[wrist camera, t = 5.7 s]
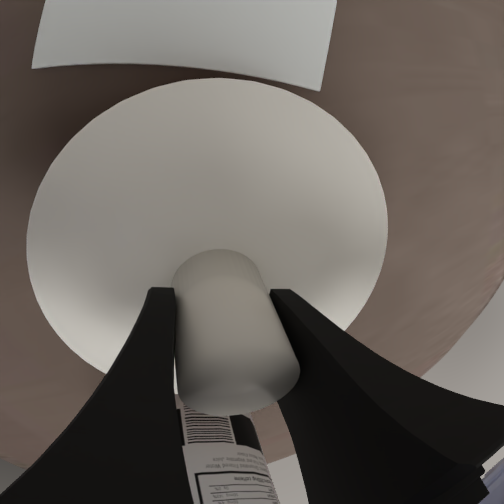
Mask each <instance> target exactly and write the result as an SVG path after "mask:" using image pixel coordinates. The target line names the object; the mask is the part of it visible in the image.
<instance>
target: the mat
mask: <svg viewBox="0 0 504 504" xmlns="http://www.w3.org/2000/svg"><path fill="white" fill-rule="evenodd" d="M336 3H337V0H46V2H45V5H44V9H43V13H42V17H41V21H40V25H39V29H38V34H37V39H36V44H35V49H34V55H33V61H32V68H31V69H39V68H48V67H59V66H72V65H92V64H140V65H161V66H175V67H186V68H196V69H204V70H212V71H220V72H226V73H233V74H239V75H245V76H251V77H256V78H261V79H266V80H271V81H276V82H280V83H285V84H289V85H293V86H297V87H301V88H305V89H309V90H313V91H320V89H321V84H322V79H323V74H324V68H325V63H326V58H327V53H328V48H329V42H330V37H331V31H332V26H333V20H334V15H335V9H336Z"/></svg>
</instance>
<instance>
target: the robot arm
mask: <svg viewBox="0 0 504 504" xmlns="http://www.w3.org/2000/svg"><path fill="white" fill-rule="evenodd" d="M269 295H270V298H271V300H272V302H273V305H274V307H275V309H276V312H277V314H278V316H279V319H280V321H281V323H282V326H283V328H284V330H285V333H286V335H287V337H288V340H289V342H290V344H291V347H292V349H293V351H294V354H295V356H296V358H297V361H298V363H299V366H300V375H299V378H298V381H297V382H296V384H295V386H294V387H293V388H292V389H291V390H290V391H289V392H288V393H287V394H286V395H285V396H284V397H282V398H281V399H279V400H278V401H277V402H278V404H279V407H280V409H281V412H282V414H283V417H284V419H285V422H286V424H287V426H288V429H289V432H290V435H291V437H292V440H293V444H294V447H295V451H296V454H297V457H298V461H299V465H300V469H301V472H302V476H303V480H304V484H305V488H306V492H307V497H308V502H309V504H504V458H503V459H502V460H501V461H499V462H498V463H497V464H496V465H495V466H494V467H493V468H492V469H490V470H489V471H488V472H487V473H486V474H485V477H484V478H483V479H482V480H481V478H480V476H481V475H483V474H484V472H485V470H484V468H483V466H482V464H483V463H484V462H485V461H487V460H488V459H489V458H490V457H491V456H493V455H494V454H495V453H496V452H497V451H498V450H499V449H500V448H501V447H503V446H504V406H503V405H498V404H494V403H490V402H486V401H481V400H477V399H473V398H470V397H467V396H464V395H461V394H458V393H455V392H452V391H449V390H447V389H444V388H442V387H439V386H437V385H434V384H432V383H430V382H428V381H426V380H423V379H421V378H419V377H417V376H415V375H413V374H411V373H409V372H407V371H405V370H403V369H402V368H400V367H398V366H396V365H395V364H393V363H391V362H389V361H388V360H386V359H384V358H383V357H381V356H379V355H378V354H376V353H375V352H373V351H372V350H370V349H369V348H367V347H366V346H364V345H363V344H362V343H360V342H359V341H357V340H356V339H354V338H353V337H352V336H350V335H349V334H348V333H346V332H345V331H344V330H342V329H341V328H340V327H338V326H337V325H336V324H335V323H333V322H332V321H331V320H329V319H328V318H327V317H326V316H324V315H323V314H322V313H321V312H319V311H318V310H317V309H316V308H314V307H313V306H312V305H311V304H309V303H308V302H307V301H306V300H304V299H303V298H302V297H300V296H299V295H298V294H296V293H295V292H294V291H292V290H291V289H270V293H269ZM175 313H176V299H175V291H174V288H172V287H151V288H150V289H149V290H148V292H147V296H146V299H145V302H144V305H143V307H142V309H141V312H140V314H139V316H138V318H137V321H136V322H135V324H134V326H133V328H132V330H131V332H130V334H129V336H128V338H127V340H126V342H125V344H124V345H123V347H122V349H121V351H120V352H119V354H118V356H117V357H116V359H115V361H114V363H113V364H112V366H111V367H110V369H109V371H108V372H107V374H106V375H105V377H104V378H103V380H102V381H101V383H100V384H99V386H98V387H97V388H96V390H95V391H94V393H93V394H92V396H91V397H90V398H89V400H88V401H87V402H86V403H85V405H84V406H83V407H82V409H81V410H80V411H79V413H78V414H77V415H76V417H75V418H74V419H73V420H72V421H71V423H70V424H69V425H68V426H67V428H66V429H65V430H64V431H63V432H62V433H61V434H60V435H59V437H58V438H57V439H56V440H55V441H54V442H53V443H52V444H51V445H50V446H49V448H48V449H47V450H46V451H45V452H44V453H43V454H42V455H41V456H40V457H39V459H38V460H37V461H36V462H35V463H34V464H33V465H32V466H31V467H29V468H28V469H27V470H26V471H25V472H24V473H23V474H22V475H21V476H20V477H19V478H18V479H16V481H14V482H13V483H12V484H11V485H10V486H9V487H8V488H7V489H6V490H5V491H3V492H2V493H1V494H0V504H194V501H193V497H192V493H191V488H190V484H189V479H188V474H187V469H186V464H185V459H184V453H183V447H182V442H181V435H180V429H179V422H178V415H177V408H176V400H175V392H174V337H175Z"/></svg>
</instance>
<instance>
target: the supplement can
mask: <svg viewBox="0 0 504 504" xmlns="http://www.w3.org/2000/svg"><path fill="white" fill-rule="evenodd" d="M175 400H176V408H177V415H178V422H179V429H180V435H181V442H182V447H183V453H184V459H185V464H186V469H187V474H188V479H189V484H190V488H191V493H192V497H193V501H194V504H280V502H279V500H278V496H277V494H276V491H275V488H274V485H273V482H272V479H271V476H270V473H269V470H268V467H267V464H266V461H265V457H264V454H263V451H262V448H261V445H260V442H259V439H258V435H257V432H256V429H255V426H254V422H253V419H252V416H251V413H250V412H249V413H245V414H239V415H231V416H216V415H208V414H204V413H200V412H197V411H195V410H193V409H191V408H189V407H187V406H186V405H185V404H184V403H183V402H182V401H181V399H180V398H179V395H178V394H175Z"/></svg>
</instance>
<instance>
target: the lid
mask: <svg viewBox="0 0 504 504" xmlns="http://www.w3.org/2000/svg"><path fill="white" fill-rule="evenodd" d="M387 236H388V216H387V208H386V202H385V196H384V192H383V189H382V186H381V183H380V180H379V177H378V174H377V172H376V170H375V168H374V166H373V165H372V163H371V161H370V159H369V157H368V155H367V154H366V152H365V151H364V149H363V148H362V147H361V145H360V144H359V143H358V141H357V140H356V139H355V137H354V136H353V135H352V134H351V133H350V132H349V131H348V130H347V129H346V128H345V127H344V126H343V125H342V124H341V123H340V122H339V121H337V120H336V119H335V118H334V117H333V116H331V115H330V114H328V113H327V112H326V111H324V110H323V109H321V108H320V107H318V106H317V105H315V104H314V103H312V102H310V101H308V100H306V99H304V98H302V97H300V96H298V95H295V94H293V93H291V92H289V91H287V90H284V89H281V88H277V87H274V86H270V85H266V84H263V83H259V82H255V81H248V80H238V79H228V78H208V79H193V80H184V81H179V82H175V83H170V84H166V85H162V86H158V87H154V88H152V89H149V90H147V91H144V92H142V93H139V94H137V95H135V96H132V97H130V98H128V99H125V100H123V101H121V102H119V103H118V104H116V105H114V106H113V107H111V108H110V109H108V110H106V111H105V112H103V113H102V114H100V115H99V116H97V117H96V118H94V119H93V120H92V121H91V122H89V123H88V124H87V125H86V126H85V127H84V128H83V129H82V130H80V131H79V132H78V133H77V134H76V135H75V136H74V137H73V138H72V139H71V140H70V141H69V142H68V143H67V145H66V146H65V147H64V148H63V150H62V151H61V152H60V153H59V155H58V156H57V157H56V159H55V160H54V161H53V162H52V164H51V166H50V168H49V169H48V171H47V173H46V175H45V177H44V179H43V180H42V182H41V184H40V186H39V188H38V191H37V194H36V197H35V200H34V203H33V206H32V209H31V212H30V218H29V224H28V230H27V263H28V270H29V275H30V281H31V284H32V287H33V290H34V293H35V296H36V299H37V301H38V303H39V305H40V307H41V309H42V311H43V313H44V315H45V317H46V319H47V320H48V322H49V323H50V325H51V326H52V327H53V329H54V330H55V332H56V333H57V334H58V335H59V337H60V338H61V339H62V340H63V341H64V342H65V343H66V344H67V345H68V346H69V348H71V349H72V350H73V351H74V352H75V353H76V354H78V355H79V356H80V357H81V358H82V359H83V360H85V361H86V362H88V363H89V364H91V365H92V366H94V367H95V368H97V369H98V370H100V371H102V372H104V373H106V374H107V372H108V371H109V369H110V367H111V366H112V364H113V363H114V361H115V359H116V357H117V356H118V354H119V352H120V351H121V349H122V347H123V345H124V344H125V342H126V340H127V338H128V336H129V334H130V332H131V330H132V328H133V326H134V324H135V322H136V321H137V318H138V316H139V314H140V312H141V309H142V307H143V305H144V302H145V299H146V296H147V292H148V290H149V289H150V288H151V287H172V288H174V291H175V299H176V313H175V337H174V392H175V394H178V395H179V398H180V399H181V401H182V402H183V403H184V404H185V405H186V406H187V407H189V408H191V409H193V410H195V411H197V412H200V413H204V414H208V415H216V416H231V415H239V414H245V413H249V412H253V411H256V410H259V409H262V408H264V407H267V406H269V405H271V404H273V403H274V402H276V401H278V400H279V399H281V398H282V397H284V396H285V395H286V394H287V393H288V392H289V391H290V390H291V389H292V388H293V387H294V386H295V384H296V382H297V381H298V378H299V375H300V366H299V363H298V361H297V358H296V356H295V354H294V351H293V349H292V347H291V344H290V342H289V340H288V337H287V335H286V333H285V330H284V328H283V326H282V323H281V321H280V319H279V316H278V314H277V312H276V309H275V307H274V305H273V302H272V300H271V298H270V295H269V293H270V289H291V290H292V291H294V292H295V293H296V294H298V295H299V296H300V297H302V298H303V299H304V300H306V301H307V302H308V303H309V304H311V305H312V306H313V307H314V308H316V309H317V310H318V311H319V312H321V313H322V314H323V315H324V316H326V317H327V318H328V319H329V320H331V321H332V322H333V323H335V324H336V325H337V326H338V327H340V328H341V329H342V330H344V331H345V330H346V328H347V327H348V326H349V325H350V324H351V323H352V321H353V320H354V319H355V318H356V316H357V315H358V313H359V312H360V311H361V309H362V308H363V306H364V305H365V303H366V301H367V300H368V298H369V296H370V294H371V292H372V290H373V288H374V286H375V284H376V281H377V279H378V276H379V274H380V271H381V268H382V264H383V260H384V256H385V252H386V244H387Z"/></svg>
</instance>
